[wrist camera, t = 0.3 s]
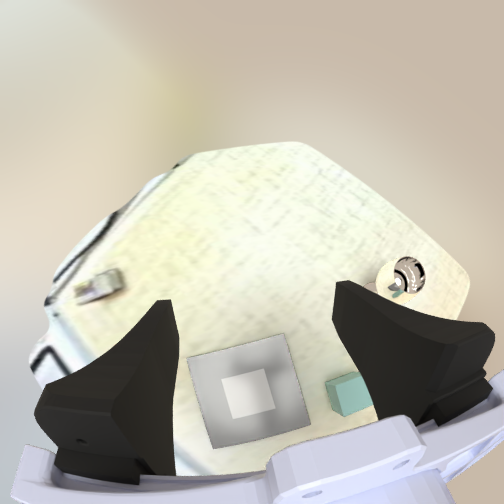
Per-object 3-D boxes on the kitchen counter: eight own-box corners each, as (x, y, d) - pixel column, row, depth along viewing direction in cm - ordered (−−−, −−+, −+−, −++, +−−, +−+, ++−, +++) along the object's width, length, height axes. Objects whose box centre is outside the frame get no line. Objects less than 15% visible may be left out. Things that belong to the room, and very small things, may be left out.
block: (360, 398, 36) (374, 403, 31) (332, 409, 36) (343, 416, 31) (353, 371, 38) (366, 373, 33) (324, 382, 38) (335, 385, 32)
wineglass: (349, 291, 42) (380, 268, 31) (375, 271, 43) (410, 243, 32) (370, 322, 40) (407, 308, 29) (395, 300, 41) (436, 280, 30)
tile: (309, 423, 35) (311, 424, 34) (214, 447, 34) (213, 449, 33) (283, 333, 40) (284, 333, 39) (187, 357, 39) (186, 358, 38)
